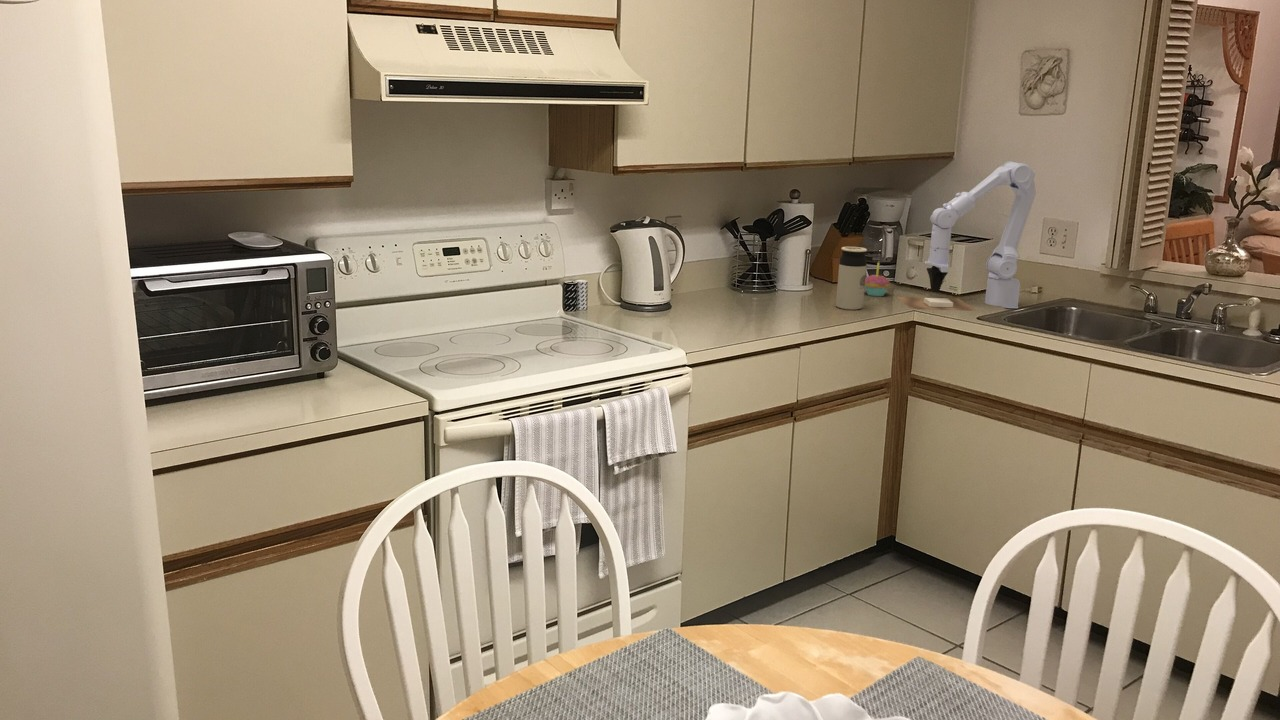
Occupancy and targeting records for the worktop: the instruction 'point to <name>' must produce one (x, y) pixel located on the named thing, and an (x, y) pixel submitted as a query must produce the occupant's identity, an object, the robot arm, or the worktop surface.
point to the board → (919, 304)
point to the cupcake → (876, 284)
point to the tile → (938, 302)
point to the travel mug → (851, 278)
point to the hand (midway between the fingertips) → (935, 291)
